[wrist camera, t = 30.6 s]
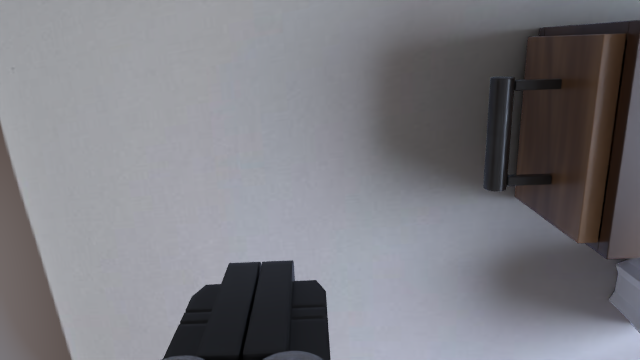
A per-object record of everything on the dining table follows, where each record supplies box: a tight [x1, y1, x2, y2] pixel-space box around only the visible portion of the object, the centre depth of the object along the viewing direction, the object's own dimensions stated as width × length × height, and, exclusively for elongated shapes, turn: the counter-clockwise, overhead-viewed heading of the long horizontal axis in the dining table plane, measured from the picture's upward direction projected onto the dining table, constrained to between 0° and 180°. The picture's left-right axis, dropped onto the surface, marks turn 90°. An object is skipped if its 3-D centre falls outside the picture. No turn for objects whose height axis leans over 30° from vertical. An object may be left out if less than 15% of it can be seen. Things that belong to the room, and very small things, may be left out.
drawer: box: [483, 33, 626, 243], centre depth 30 cm, size 17×12×9 cm
